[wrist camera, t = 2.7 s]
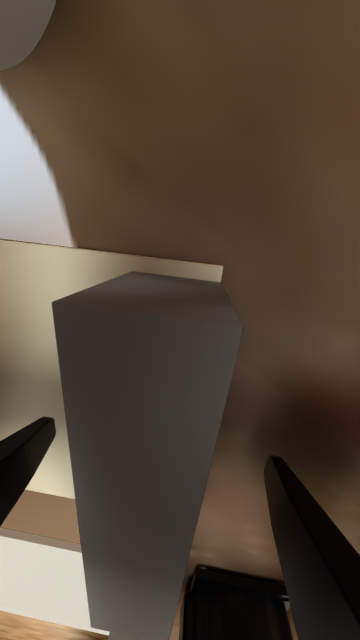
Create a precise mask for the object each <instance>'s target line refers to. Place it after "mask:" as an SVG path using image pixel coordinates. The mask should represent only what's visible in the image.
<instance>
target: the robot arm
mask: <svg viewBox="0 0 360 640" xmlns="http://www.w3.org/2000/svg"><path fill="white" fill-rule="evenodd" d="M55 435H56V427H55V420H54V418H52V417H46V416H44V417H41V418H39V419H38V420H36V421H34V422H32V423H31V424H29V425H27V426H25V427H24V428H22V429H20V430H19V431H17V432H15V433H13V434H12V435H10V436H8V437H6V438H5V439H3V440H1V441H0V526H1V525H2V523H3V522H4V520H5V519H6V517H7V516H8V514H9V513H10V511H11V510H12V508H13V507H14V505H15V504H16V502H17V501H18V499H19V497H20V496H21V495H22V493H23V492H24V490H25V489H26V487H27V486H28V484H29V483H30V481H31V479H32V478H33V476H34V474H35V473H36V471H37V469H38V467H39V465H40V464H41V462H42V460H43V458H44V456H45V454H46V453H47V451H48V449H49V447H50V445H51V444H52V442H53V440H54V438H55ZM264 480H265V487H266V493H267V500H268V507H269V514H270V520H271V526H272V530H273V535H274V539H275V543H276V548H277V552H278V556H279V560H280V565H281V569H282V573H283V577H284V581H285V586H281V585H277V584H272V583H267V582H262V581H257V580H252V579H247V578H242V577H238V576H233V575H228V574H223V573H218V572H213V571H208V570H204V569H197V570H195V572H194V576H193V579H192V583H191V587H190V591H187V592H186V593H185V595H184V598H183V602H182V606H181V613H180V630H179V640H293V637H292V633H291V628H290V624H289V620H288V615H287V611H288V609H289V608H290V607H291V611H292V615H293V620H294V624H295V628H296V632H297V636H298V640H360V555H359V554H358V553H357V551H356V550H355V549H354V548H353V546H352V545H351V544H350V543H349V541H348V540H347V539H346V538H345V536H344V535H343V534H342V533H341V531H340V530H339V529H338V528H337V526H336V525H335V524H334V523H333V521H332V520H331V519H330V518H329V516H328V515H327V514H326V513H325V511H324V510H323V509H322V508H321V506H320V505H319V504H318V503H317V501H316V500H315V499H314V498H313V496H312V495H311V494H310V493H309V491H308V490H307V489H306V488H305V486H304V485H303V484H302V483H301V481H300V480H299V479H298V478H297V476H296V475H295V474H294V473H293V471H292V470H291V469H290V468H289V466H288V465H287V464H286V463H285V461H284V460H283V459H282V458H281V457H279V456H273V455H270V456H269V457H268V460H267V462H266V465H265V468H264Z"/></svg>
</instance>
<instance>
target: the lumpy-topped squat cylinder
mask: <svg viewBox="0 0 360 640" xmlns="http://www.w3.org/2000/svg"><path fill="white" fill-rule="evenodd" d="M55 4H56V0H0V71H3V70H6V69H9V68H12V67H14V66H16V65H18V64H19V63H20V62H22V61H23V60H24V59H25V58H26V57H27V56H28V55H29V54H30V53H31V52H32V51H33V49H34V48H35V47H36V45H37V44H38V42H39V40H40V39H41V37H42V35H43V33H44V31H45V29H46V27H47V25H48V23H49V20H50V18H51V15H52V13H53V10H54V7H55Z"/></svg>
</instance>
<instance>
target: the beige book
mask: <svg viewBox="0 0 360 640" xmlns="http://www.w3.org/2000/svg"><path fill="white" fill-rule="evenodd" d="M222 272H223V266H221V265H213V264H205V263H196V262H188V261H180V260H172V259H163V258H155V257H147V256H139V255H130V254H122V253H114V252H106V251H97V250H89V249H81V248H72V247H64V246H56V245H47V244H39V243H30V242H22V241H13V240H6V239H0V441H1V440H3V439H5V438H6V437H8V436H10V435H12V434H13V433H15V432H17V431H19V430H20V429H22V428H24V427H25V426H27V425H29V424H31V423H32V422H34V421H36V420H38V419H39V418H41V417H44V416H46V417H52V418H54V420H55V427H56V435H55V438H54V440H53V442H52V444H51V445H50V447H49V449H48V451H47V453H46V454H45V456H44V458H43V460H42V462H41V464H40V465H39V467H38V469H37V471H36V473H35V474H34V476H33V478H32V479H31V481H30V483H29V484H28V486H27V487H26V490H31V491H36V492H41V493H47V494H52V495H57V496H62V497H68V498H72V499H75V500H76V509H77V517H78V525H79V533H80V542H81V550H82V559H83V567H84V575H85V583H86V592H87V600H88V608H89V616H90V625H91V628H95V629H100V630H104V631H109V632H113V633H117V634H122V635H126V636H130V637H135V638H139V639H144V640H169V639H170V635H171V630H172V626H173V622H174V618H175V614H176V609H177V605H178V601H179V597H180V593H181V589H182V584H183V580H184V576H185V572H186V568H187V563H188V559H189V555H190V551H191V547H192V543H193V538H194V534H195V530H196V526H197V522H198V517H199V513H200V509H201V505H202V501H203V497H204V492H205V488H206V484H207V480H208V476H209V471H210V467H211V463H212V459H213V455H214V451H215V446H216V442H217V438H218V434H219V430H220V425H221V421H222V417H223V413H224V409H225V405H226V400H227V396H228V392H229V388H230V384H231V379H232V375H233V371H234V367H235V363H236V359H237V354H238V350H239V346H240V342H241V338H242V333H243V329H244V328H243V326H242V324H241V322H240V320H239V318H238V316H237V314H236V312H235V310H234V308H233V306H232V304H231V302H230V300H229V298H228V296H227V294H226V292H225V290H224V288H223V286H222V284H221V277H222Z"/></svg>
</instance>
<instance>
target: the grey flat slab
mask: <svg viewBox="0 0 360 640" xmlns="http://www.w3.org/2000/svg"><path fill="white" fill-rule="evenodd" d="M0 611H5V612H9V613H13V614H18V615H22V616H26V617H31V618H35V619H39V620H44V621H48V622H53V623H57V624H61V625H66V626H70V627H74V628H79V629H83V630H87V631H92V632H96V633H100V634H105V635H109V637H108V640H144V639H139V638H135V637H130V636H126V635H122V634H117V633H113V632H109V631H104V630H100V629H95V628H91V625H90V616H89V608H88V600H87V592H86V583H85V575H84V567H83V559H82V550H81V544H78V543H73V542H69V541H64V540H58V539H54V538H48V537H44V536H39V535H34V534H30V533H24V532H19V531H15V530H10V529H5V528H0Z"/></svg>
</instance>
